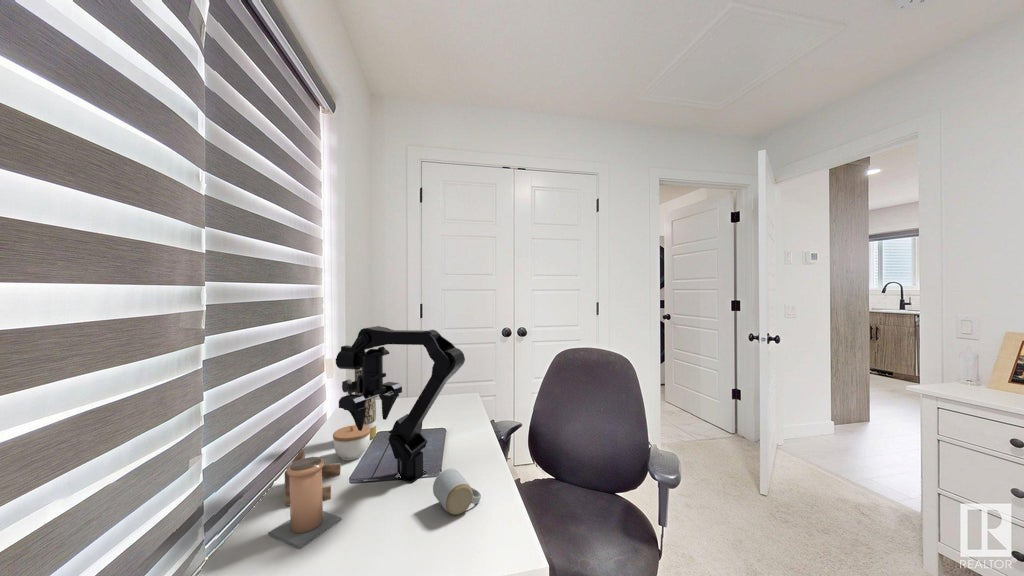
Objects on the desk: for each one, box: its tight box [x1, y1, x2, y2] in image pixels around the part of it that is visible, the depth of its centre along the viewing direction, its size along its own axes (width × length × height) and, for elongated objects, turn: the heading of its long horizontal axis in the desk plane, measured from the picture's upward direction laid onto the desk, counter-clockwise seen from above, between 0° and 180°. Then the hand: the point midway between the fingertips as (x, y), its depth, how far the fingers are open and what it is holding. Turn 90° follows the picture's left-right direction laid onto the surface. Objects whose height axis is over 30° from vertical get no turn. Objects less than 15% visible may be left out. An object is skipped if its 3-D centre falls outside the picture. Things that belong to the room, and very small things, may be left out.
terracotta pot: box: [286, 456, 325, 533], centre depth 80 cm, size 7×7×13 cm
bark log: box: [354, 368, 377, 440], centre depth 128 cm, size 7×7×25 cm
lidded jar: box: [332, 424, 371, 461], centre depth 114 cm, size 11×11×9 cm
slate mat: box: [267, 510, 342, 550], centre depth 80 cm, size 10×10×1 cm
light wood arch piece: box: [284, 448, 342, 506], centre depth 96 cm, size 10×13×8 cm
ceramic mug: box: [432, 468, 482, 516], centre depth 88 cm, size 11×8×8 cm
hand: (372, 424), depth 105 cm, fingers open, 9 cm apart
